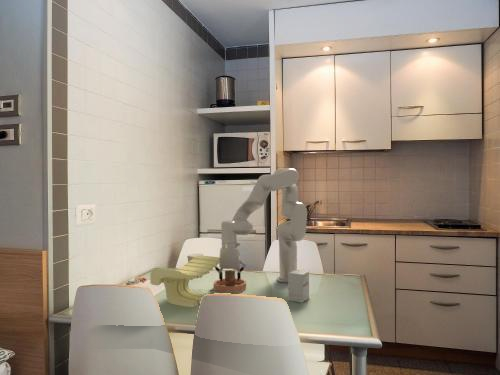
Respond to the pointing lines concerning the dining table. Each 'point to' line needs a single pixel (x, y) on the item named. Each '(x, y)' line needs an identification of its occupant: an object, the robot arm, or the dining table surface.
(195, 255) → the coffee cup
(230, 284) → the walnut bead
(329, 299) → the dining table surface
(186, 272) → the slatted curved stool
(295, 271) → the supplement box
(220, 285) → the round tray
